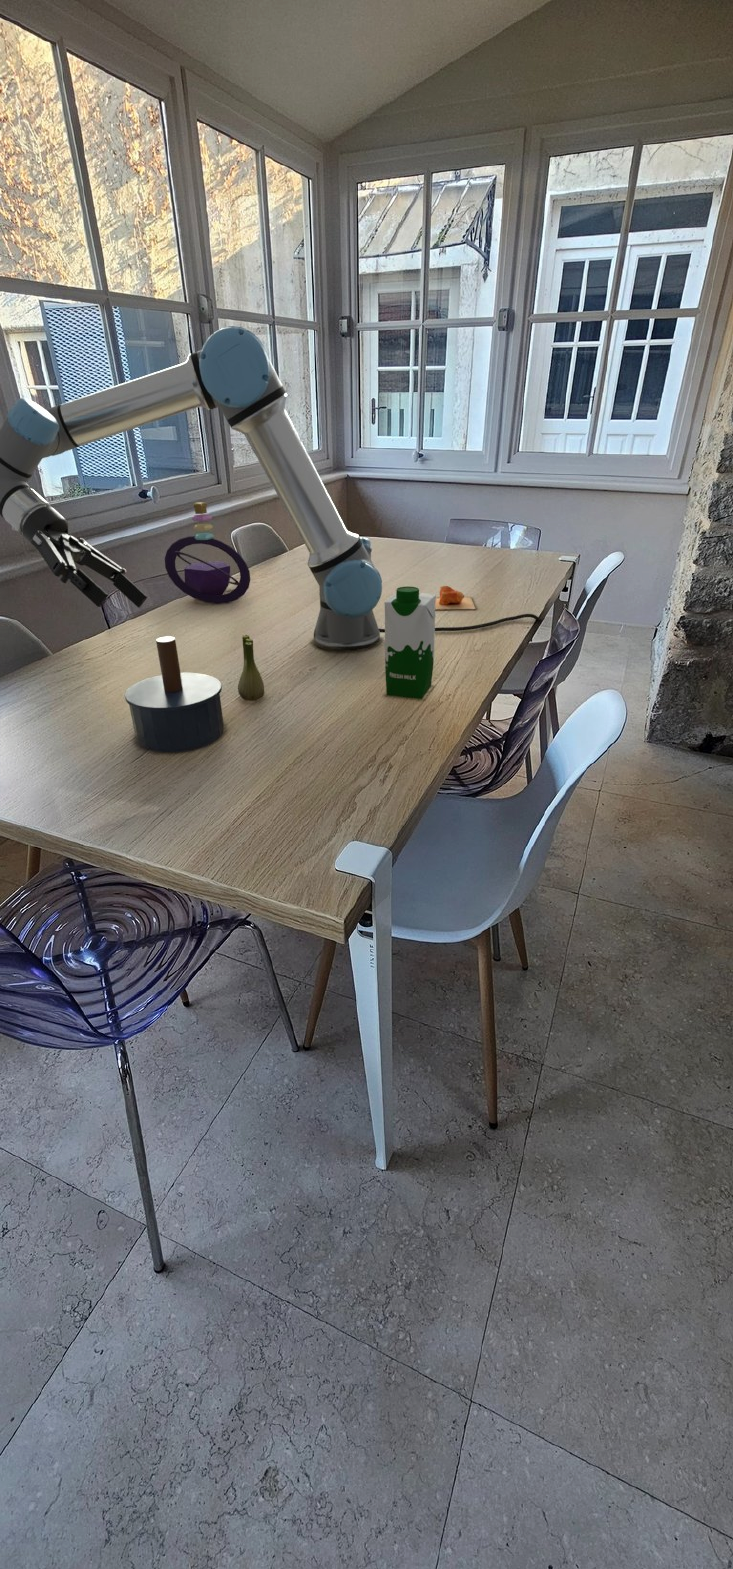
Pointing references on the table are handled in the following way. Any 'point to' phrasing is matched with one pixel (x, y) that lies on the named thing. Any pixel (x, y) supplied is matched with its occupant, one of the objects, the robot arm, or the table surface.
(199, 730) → the pot
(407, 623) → the milk carton
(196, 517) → the decorative bottle
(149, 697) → the pot lid
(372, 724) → the table surface
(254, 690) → the fennel bulb
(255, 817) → the table surface
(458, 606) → the rock
